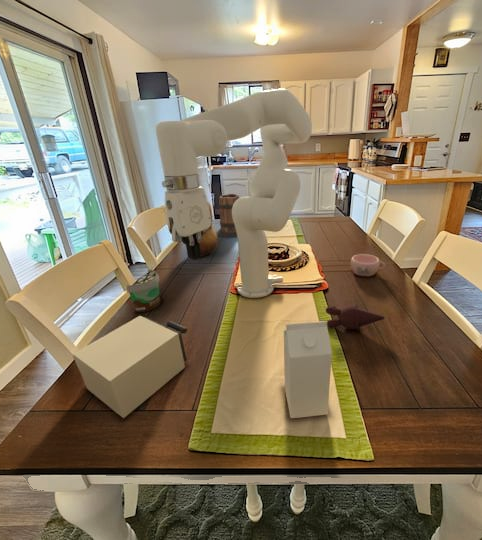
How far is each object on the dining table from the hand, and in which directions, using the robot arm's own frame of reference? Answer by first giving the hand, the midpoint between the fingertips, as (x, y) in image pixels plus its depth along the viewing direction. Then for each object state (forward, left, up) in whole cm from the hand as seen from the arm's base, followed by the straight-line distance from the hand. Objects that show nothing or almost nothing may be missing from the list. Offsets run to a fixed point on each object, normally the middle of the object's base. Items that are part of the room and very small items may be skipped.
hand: (194, 258), depth 72 cm
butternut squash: (-2, -57, -21) cm, 61 cm away
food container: (+16, -17, -21) cm, 32 cm away
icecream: (-39, +12, -21) cm, 46 cm away
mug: (-60, -16, -21) cm, 66 cm away
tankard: (-22, -83, -21) cm, 88 cm away
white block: (+16, +15, -21) cm, 30 cm away
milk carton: (-18, +31, -21) cm, 42 cm away
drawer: (+13, +12, -20) cm, 27 cm away
